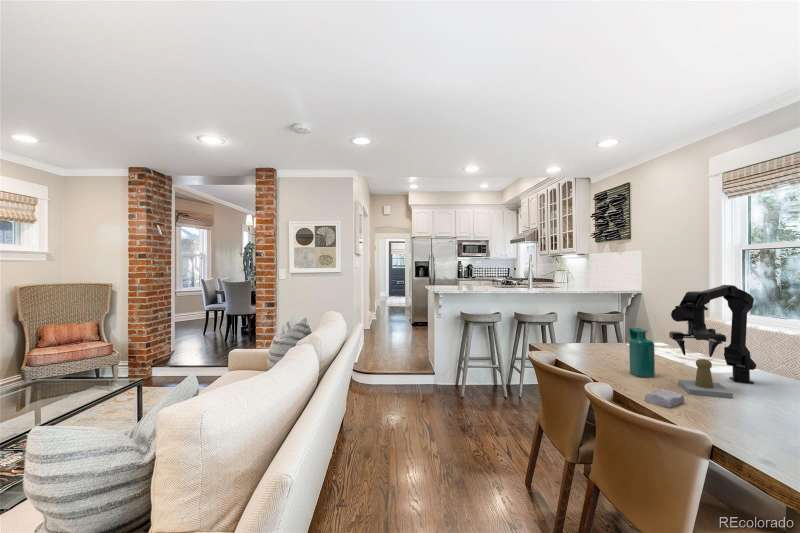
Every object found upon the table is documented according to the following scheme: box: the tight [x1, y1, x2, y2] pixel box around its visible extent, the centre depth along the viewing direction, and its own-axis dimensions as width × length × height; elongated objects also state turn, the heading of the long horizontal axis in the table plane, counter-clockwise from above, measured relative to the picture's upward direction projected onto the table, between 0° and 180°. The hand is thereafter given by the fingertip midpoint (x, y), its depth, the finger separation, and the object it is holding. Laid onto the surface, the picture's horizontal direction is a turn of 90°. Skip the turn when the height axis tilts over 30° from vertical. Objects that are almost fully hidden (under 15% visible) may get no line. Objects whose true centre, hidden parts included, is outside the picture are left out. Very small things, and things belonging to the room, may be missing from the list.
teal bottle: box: [628, 327, 656, 378], centre depth 175 cm, size 10×8×22 cm
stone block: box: [644, 389, 685, 409], centre depth 140 cm, size 12×5×10 cm
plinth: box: [678, 379, 734, 399], centre depth 151 cm, size 14×14×2 cm
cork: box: [694, 358, 714, 388], centre depth 151 cm, size 6×6×11 cm
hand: (697, 356), depth 158 cm, fingers open, 9 cm apart
